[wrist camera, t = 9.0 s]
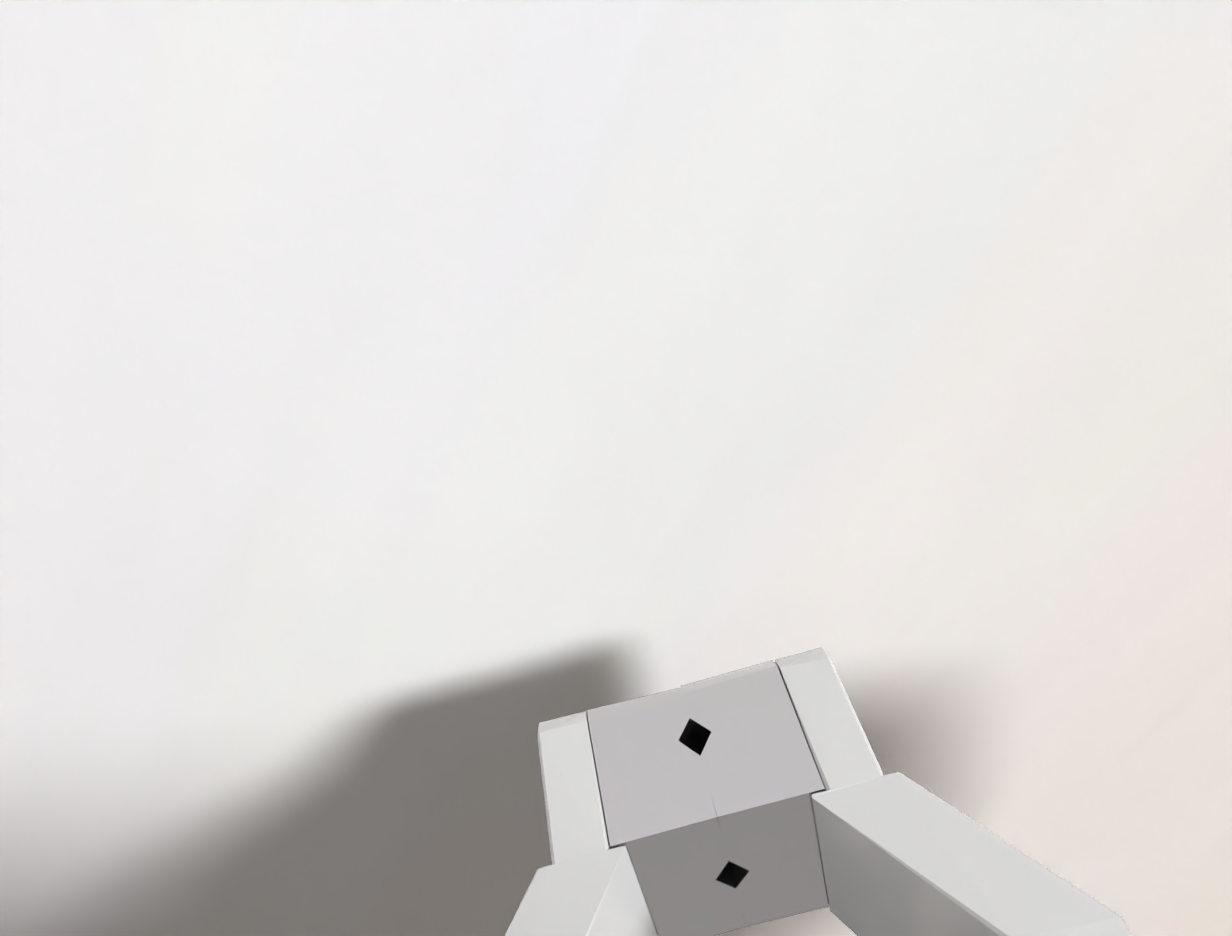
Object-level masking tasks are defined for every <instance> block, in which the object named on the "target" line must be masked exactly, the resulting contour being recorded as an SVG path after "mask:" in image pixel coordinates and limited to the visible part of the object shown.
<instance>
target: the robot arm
mask: <svg viewBox="0 0 1232 936" xmlns="http://www.w3.org/2000/svg"><path fill="white" fill-rule="evenodd" d="M537 740H538V748H539V757H540V765H541V774H542V783H543V791H544V800H545V808H546V817H547V826H548V834H549V843H550V851H551V860H552V865H548V866H545V867H542V868H538V869H537V871H536V873H535V875H534V877H533V879H532V881H531V883H530V885H529V887H528V889H527V891H526V893H525V895H524V897H523V899H522V901H521V903H520V905H519V907H518V909H517V911H516V913H515V915H514V917H513V919H512V921H511V923H510V925H509V927H508V929H507V931H506V933H505V935H504V936H716V935H719V934H722V933H726V932H729V931H732V930H736V929H739V928H742V927H746V926H750V925H754V924H758V923H762V922H767V921H771V920H775V919H779V918H783V917H787V916H792V915H796V914H800V913H804V912H808V911H812V910H817V909H821V908H825V907H829V906H830V911H831V912H832V913H833V914H834V915H836V916H837V917H838V918H839V919H840V920H841V921H842V922H843V923H844V924H845V925H846V926H848V927H849V928H850V929H851V930H852V931H853V932H854V933H855V934H856V935H857V936H1133V935H1132V933H1131V931H1130V930H1129V928H1128V926H1127V925H1126V923H1125V921H1124V920H1123V918H1122V916H1120V915H1119V914H1117V913H1116V912H1114V911H1113V910H1111V909H1110V908H1108V907H1107V906H1105V905H1103V904H1102V903H1100V902H1099V901H1097V900H1096V899H1094V898H1093V897H1091V896H1090V895H1088V894H1086V893H1085V892H1083V891H1082V890H1080V889H1079V888H1077V887H1076V886H1074V885H1073V884H1071V883H1070V882H1068V881H1066V880H1065V879H1063V878H1062V877H1060V876H1059V875H1057V874H1056V873H1054V872H1053V871H1051V870H1050V869H1048V868H1046V867H1045V866H1043V865H1042V864H1040V863H1039V862H1037V861H1036V860H1034V859H1033V858H1031V857H1029V856H1028V855H1026V854H1025V853H1023V852H1022V851H1020V850H1019V849H1017V848H1016V847H1014V846H1013V845H1011V844H1009V843H1008V842H1006V841H1005V840H1003V839H1002V838H1000V837H999V836H997V835H996V834H994V833H993V832H991V831H989V830H988V829H986V828H985V827H983V826H982V825H980V824H979V823H977V822H976V821H974V820H973V819H971V818H969V817H968V816H966V815H965V814H963V813H962V812H960V811H959V810H957V809H956V808H954V807H952V806H951V805H949V804H948V803H946V802H945V801H943V800H942V799H940V798H939V797H937V796H936V795H934V794H932V793H931V792H929V791H928V790H926V789H925V788H923V787H922V786H920V785H919V784H917V783H916V782H914V781H912V780H911V779H909V778H908V777H906V776H905V775H903V774H902V773H900V772H895V773H891V774H886V775H884V774H883V772H882V770H881V767H880V765H879V763H878V761H877V759H876V756H875V754H874V752H873V750H872V748H871V745H870V743H869V741H868V739H867V737H866V734H865V732H864V730H863V728H862V726H861V723H860V721H859V719H858V717H857V715H856V712H855V710H854V708H853V706H852V704H851V702H850V699H849V697H848V695H847V693H846V691H845V688H844V686H843V684H842V682H841V680H840V677H839V675H838V673H837V671H836V669H835V666H834V664H833V662H832V660H831V658H830V655H829V654H828V653H827V652H826V651H825V650H824V649H823V648H822V647H821V648H817V649H814V650H810V651H806V652H803V653H799V654H795V655H792V656H788V657H784V658H781V659H777V660H775V662H773V660H771V661H767V662H764V663H760V664H757V665H753V666H750V667H746V668H743V669H739V670H736V671H732V672H728V673H725V674H721V675H718V676H714V677H711V678H707V679H704V680H700V681H696V682H693V683H689V684H686V685H682V686H681V687H680V688H676V689H672V690H668V691H664V692H660V693H656V694H652V695H647V696H643V697H639V698H635V699H631V700H627V701H623V702H618V703H614V704H610V705H606V706H602V707H598V708H594V709H590V710H587V711H584V712H580V713H576V714H572V715H568V716H564V717H560V718H556V719H552V720H548V721H544V722H540V723H539V726H538V735H537ZM744 921H745V922H744ZM745 925H746V926H745Z"/></svg>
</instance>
